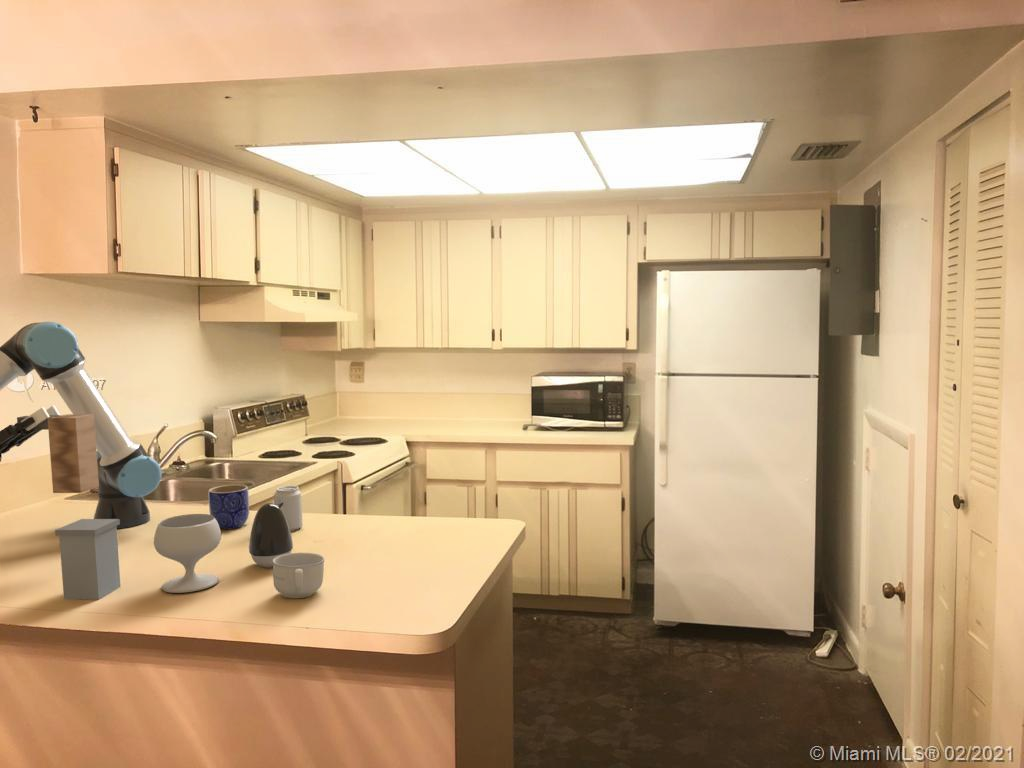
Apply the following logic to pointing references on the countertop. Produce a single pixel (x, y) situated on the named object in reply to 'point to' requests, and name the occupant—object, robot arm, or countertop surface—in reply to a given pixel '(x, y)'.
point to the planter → (229, 505)
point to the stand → (89, 558)
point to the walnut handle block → (71, 452)
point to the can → (290, 505)
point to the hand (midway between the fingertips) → (51, 411)
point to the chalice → (188, 548)
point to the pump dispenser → (269, 535)
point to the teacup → (298, 574)
